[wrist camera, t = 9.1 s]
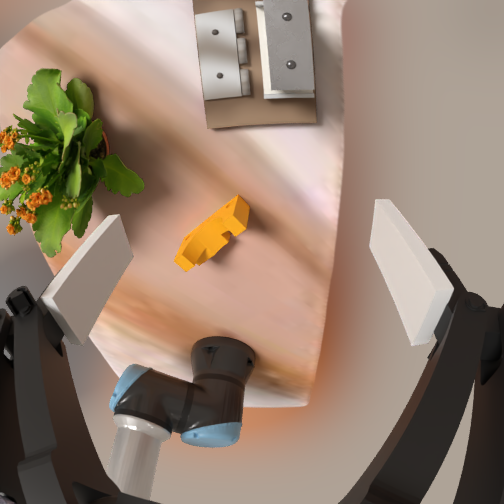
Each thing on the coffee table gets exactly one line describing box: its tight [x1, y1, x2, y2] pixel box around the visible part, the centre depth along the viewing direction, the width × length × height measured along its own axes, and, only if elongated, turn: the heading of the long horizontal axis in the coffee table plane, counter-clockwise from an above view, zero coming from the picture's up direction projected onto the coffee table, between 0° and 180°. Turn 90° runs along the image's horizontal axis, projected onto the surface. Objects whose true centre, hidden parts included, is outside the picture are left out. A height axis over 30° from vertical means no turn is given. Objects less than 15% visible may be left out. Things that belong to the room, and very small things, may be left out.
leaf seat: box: [255, 1, 314, 99], centre depth 27 cm, size 13×6×2 cm, turn 5°
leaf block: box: [263, 0, 314, 90], centre depth 24 cm, size 10×4×9 cm, turn 5°
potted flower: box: [0, 69, 144, 257], centre depth 31 cm, size 25×24×18 cm
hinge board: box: [193, 0, 317, 129], centre depth 28 cm, size 20×14×2 cm
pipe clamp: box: [174, 195, 250, 272], centre depth 42 cm, size 12×4×6 cm, turn 131°
